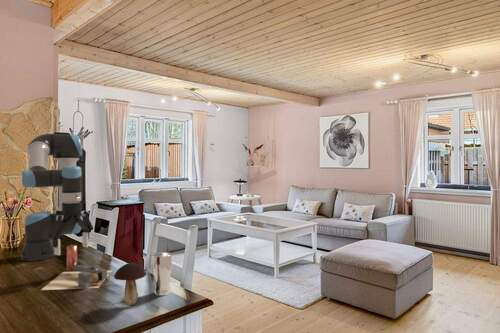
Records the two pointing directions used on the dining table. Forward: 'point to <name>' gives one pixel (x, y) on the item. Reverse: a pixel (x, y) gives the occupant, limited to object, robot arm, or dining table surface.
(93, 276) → the walnut
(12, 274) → the dining table surface
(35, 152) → the robot arm
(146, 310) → the dining table surface
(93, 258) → the dining table surface
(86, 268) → the lever
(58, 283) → the tapered cream board
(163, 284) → the beer glass
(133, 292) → the decorative mushroom
